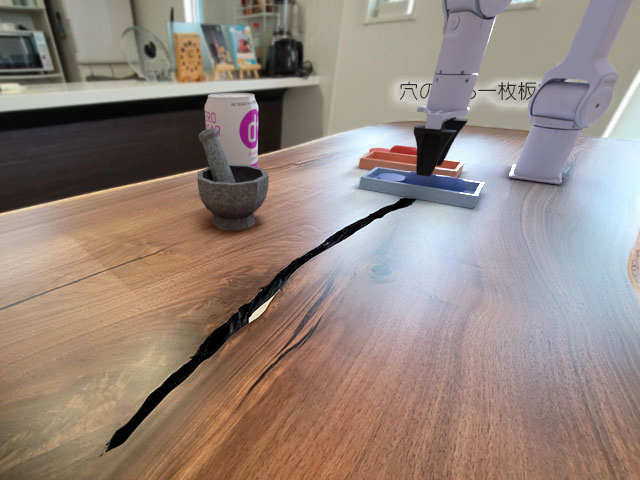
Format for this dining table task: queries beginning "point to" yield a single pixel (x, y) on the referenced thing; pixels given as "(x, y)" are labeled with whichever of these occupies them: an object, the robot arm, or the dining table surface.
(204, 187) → the mortar and pestle
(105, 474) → the dining table surface
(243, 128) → the white soda can
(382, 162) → the red tray
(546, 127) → the robot arm
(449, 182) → the blue spoon
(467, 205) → the blue tray
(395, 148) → the red spoon
